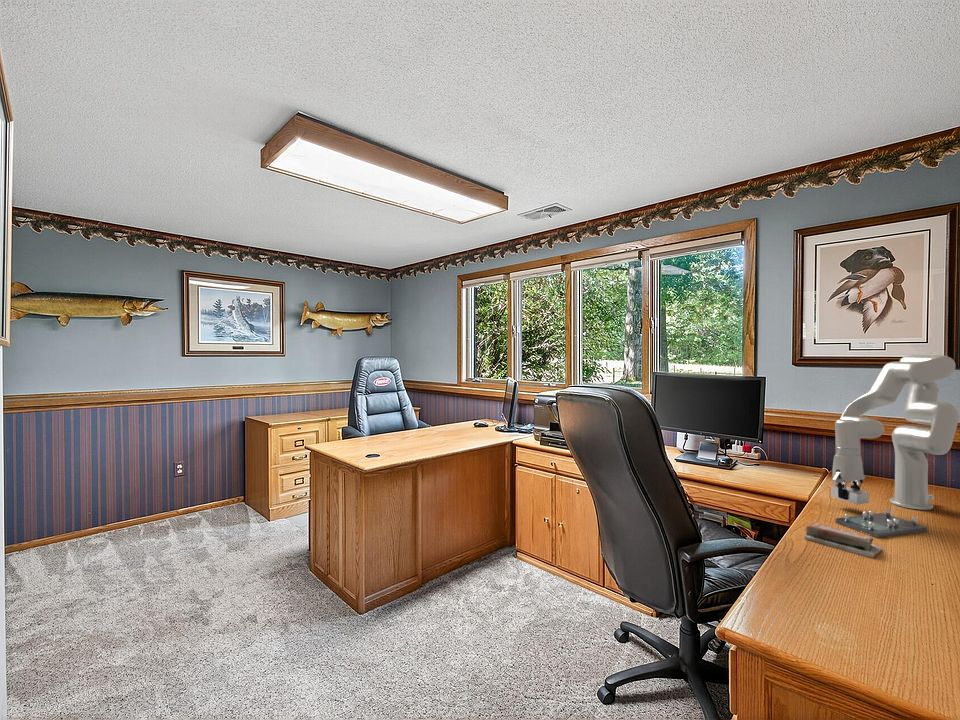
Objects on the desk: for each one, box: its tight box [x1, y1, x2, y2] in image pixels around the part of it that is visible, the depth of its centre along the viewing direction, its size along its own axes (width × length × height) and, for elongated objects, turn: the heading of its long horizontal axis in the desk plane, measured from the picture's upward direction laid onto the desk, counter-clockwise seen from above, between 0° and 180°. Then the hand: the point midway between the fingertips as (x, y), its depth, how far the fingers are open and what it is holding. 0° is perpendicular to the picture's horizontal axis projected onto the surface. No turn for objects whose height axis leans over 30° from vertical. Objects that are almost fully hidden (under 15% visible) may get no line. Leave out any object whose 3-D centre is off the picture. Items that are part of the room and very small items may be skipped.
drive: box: [830, 485, 870, 505], centre depth 176 cm, size 6×10×4 cm, turn 13°
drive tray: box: [834, 508, 928, 539], centre depth 159 cm, size 22×14×4 cm, turn 103°
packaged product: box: [803, 522, 883, 559], centre depth 146 cm, size 18×5×10 cm
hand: (849, 497), depth 176 cm, fingers closed on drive, 5 cm apart
